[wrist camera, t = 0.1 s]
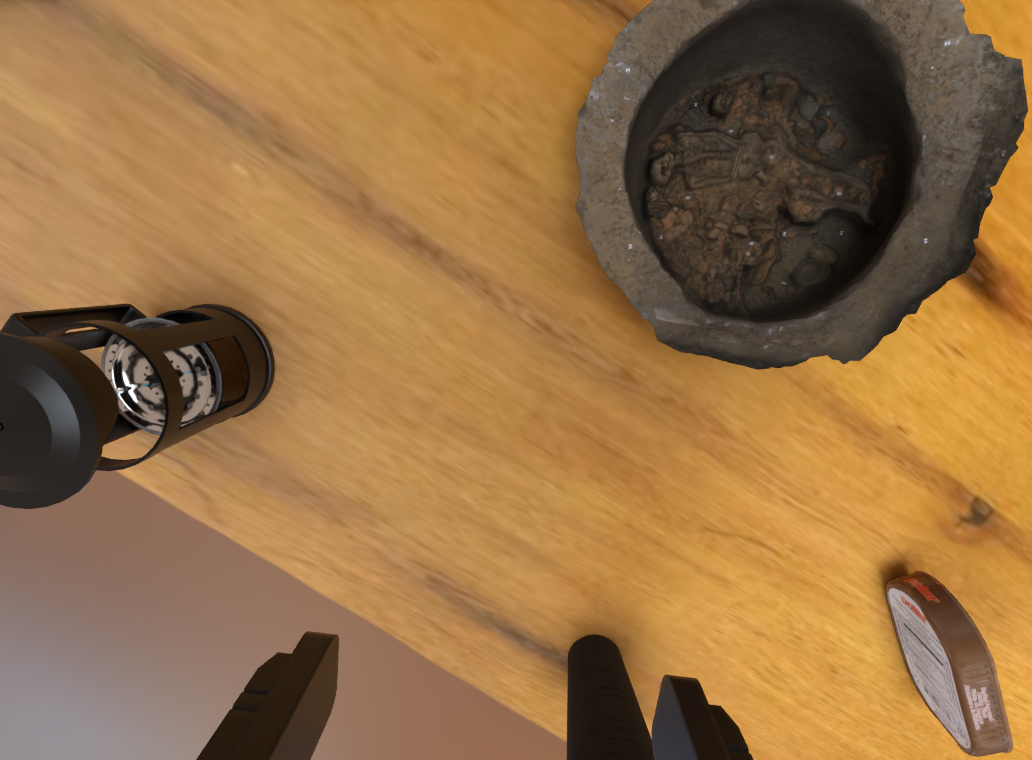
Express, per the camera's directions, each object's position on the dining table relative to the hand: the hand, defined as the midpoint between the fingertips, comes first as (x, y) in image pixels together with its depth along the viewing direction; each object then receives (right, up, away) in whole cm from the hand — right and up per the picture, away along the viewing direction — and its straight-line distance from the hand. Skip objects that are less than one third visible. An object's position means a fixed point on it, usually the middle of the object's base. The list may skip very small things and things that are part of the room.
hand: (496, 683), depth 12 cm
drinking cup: (+8, -18, +34) cm, 39 cm away
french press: (-24, +9, +29) cm, 39 cm away
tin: (+35, -15, +33) cm, 50 cm away
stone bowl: (+17, +22, +25) cm, 37 cm away
